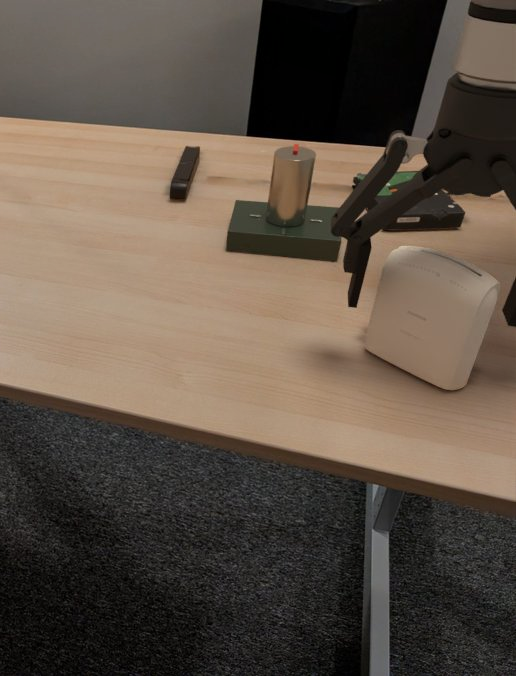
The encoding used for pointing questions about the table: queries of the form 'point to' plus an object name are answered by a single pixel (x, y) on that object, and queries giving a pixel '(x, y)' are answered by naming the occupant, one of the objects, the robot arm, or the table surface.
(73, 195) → the table surface
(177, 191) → the black bar
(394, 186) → the disk drive
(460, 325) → the photo printer
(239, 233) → the green base plate
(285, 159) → the dial
